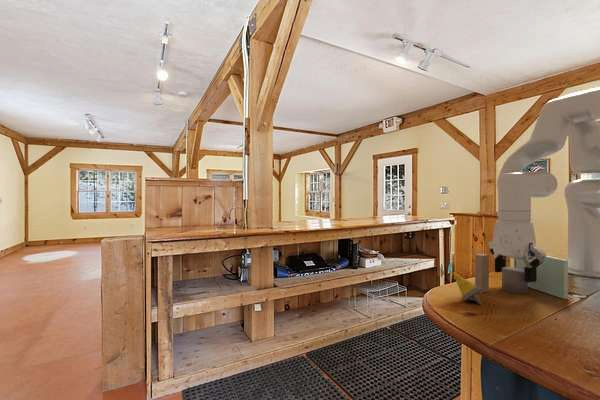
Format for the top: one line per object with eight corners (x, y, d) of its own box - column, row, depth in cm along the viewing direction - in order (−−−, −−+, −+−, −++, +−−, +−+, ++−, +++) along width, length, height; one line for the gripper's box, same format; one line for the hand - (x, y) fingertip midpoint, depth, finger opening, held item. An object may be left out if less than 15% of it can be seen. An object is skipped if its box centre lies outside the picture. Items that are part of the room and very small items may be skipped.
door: (512, 281, 92) (513, 249, 92) (516, 281, 93) (516, 249, 92) (563, 298, 78) (564, 260, 77) (567, 298, 78) (568, 260, 78)
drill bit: (473, 309, 73) (443, 275, 79) (472, 311, 78) (444, 279, 83) (492, 297, 73) (461, 264, 78) (490, 300, 77) (461, 268, 83)
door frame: (531, 277, 97) (531, 244, 97) (538, 278, 96) (539, 245, 95) (475, 291, 85) (475, 254, 85) (481, 293, 83) (482, 255, 83)
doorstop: (509, 285, 89) (509, 266, 89) (532, 292, 84) (532, 270, 84) (497, 289, 87) (497, 268, 86) (519, 295, 81) (519, 273, 81)
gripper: (478, 214, 92) (479, 269, 93) (531, 220, 75) (532, 287, 76) (499, 213, 94) (500, 267, 94) (556, 218, 77) (556, 284, 77)
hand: (514, 276), depth 85 cm, fingers open, 9 cm apart
